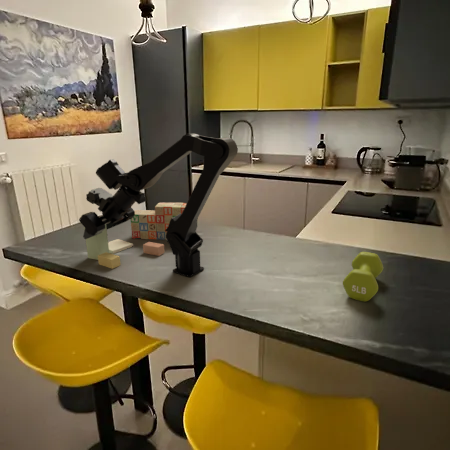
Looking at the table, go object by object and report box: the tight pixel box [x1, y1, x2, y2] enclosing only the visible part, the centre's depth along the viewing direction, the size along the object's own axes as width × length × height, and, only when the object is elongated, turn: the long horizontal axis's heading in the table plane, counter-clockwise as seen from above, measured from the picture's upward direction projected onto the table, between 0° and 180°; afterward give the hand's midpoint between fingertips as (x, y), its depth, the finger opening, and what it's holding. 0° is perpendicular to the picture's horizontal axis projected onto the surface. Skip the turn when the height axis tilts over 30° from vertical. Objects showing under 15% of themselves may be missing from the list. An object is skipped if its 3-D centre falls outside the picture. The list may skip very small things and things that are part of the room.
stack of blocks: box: [130, 202, 187, 240], centre depth 121 cm, size 21×6×12 cm, turn 85°
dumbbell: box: [342, 251, 384, 302], centre depth 85 cm, size 16×8×7 cm, turn 150°
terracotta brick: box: [142, 241, 165, 257], centre depth 108 cm, size 6×3×3 cm, turn 65°
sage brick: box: [83, 225, 110, 261], centre depth 104 cm, size 4×4×10 cm
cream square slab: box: [108, 238, 134, 255], centre depth 113 cm, size 8×8×2 cm
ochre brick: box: [97, 252, 122, 270], centre depth 99 cm, size 6×3×3 cm, turn 58°
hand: (95, 233), depth 103 cm, fingers open, 9 cm apart
